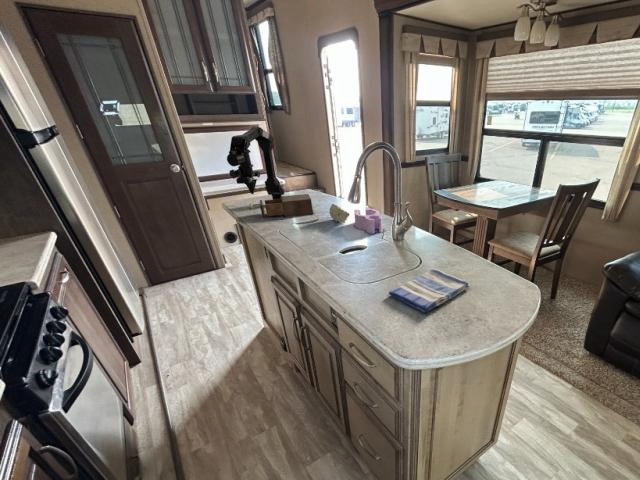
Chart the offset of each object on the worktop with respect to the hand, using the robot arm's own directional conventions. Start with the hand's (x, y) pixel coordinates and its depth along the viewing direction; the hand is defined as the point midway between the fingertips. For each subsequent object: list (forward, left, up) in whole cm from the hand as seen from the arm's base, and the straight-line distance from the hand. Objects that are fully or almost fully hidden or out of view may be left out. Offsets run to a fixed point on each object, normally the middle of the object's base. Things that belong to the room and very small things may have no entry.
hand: (252, 193), depth 174 cm
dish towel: (+121, +25, -13) cm, 124 cm away
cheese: (+37, +35, -13) cm, 52 cm away
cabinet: (+6, +21, -13) cm, 25 cm away
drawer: (+2, +7, -12) cm, 14 cm away
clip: (+52, +42, -13) cm, 68 cm away
